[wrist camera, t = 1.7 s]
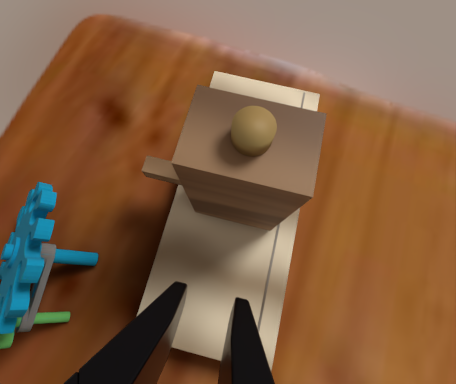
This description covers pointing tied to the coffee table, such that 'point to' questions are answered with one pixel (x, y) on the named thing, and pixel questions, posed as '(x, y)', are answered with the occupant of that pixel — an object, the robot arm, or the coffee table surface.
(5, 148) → the coffee table surface
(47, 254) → the gear
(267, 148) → the tan knobbed block
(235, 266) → the pine board
